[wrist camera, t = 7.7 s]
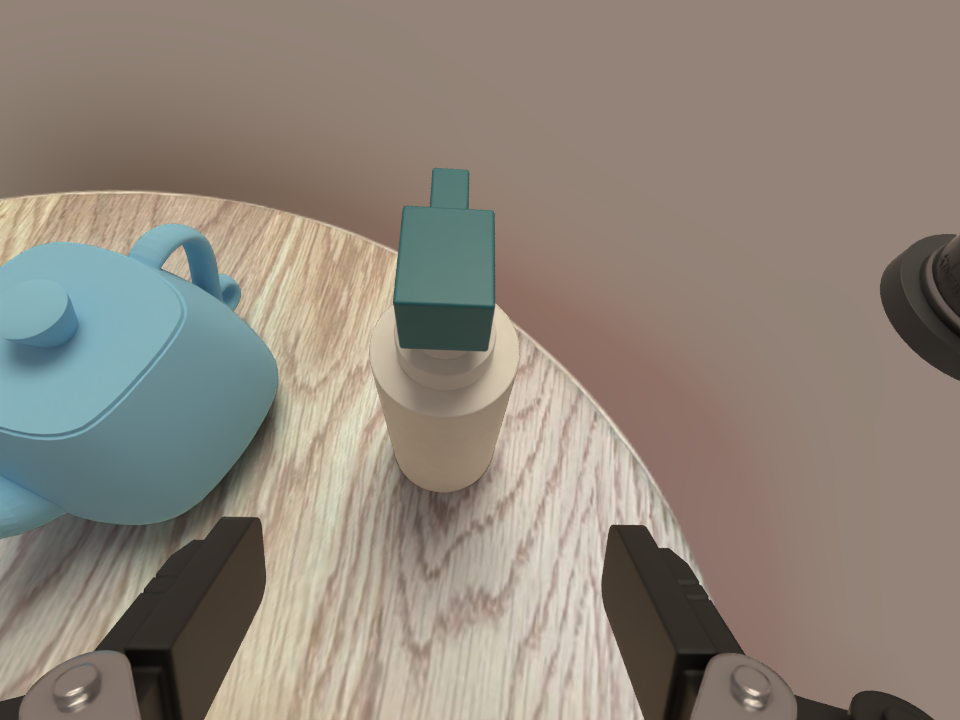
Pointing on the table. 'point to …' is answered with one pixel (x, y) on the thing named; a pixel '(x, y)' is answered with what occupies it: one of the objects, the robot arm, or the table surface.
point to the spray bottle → (445, 342)
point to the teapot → (122, 382)
